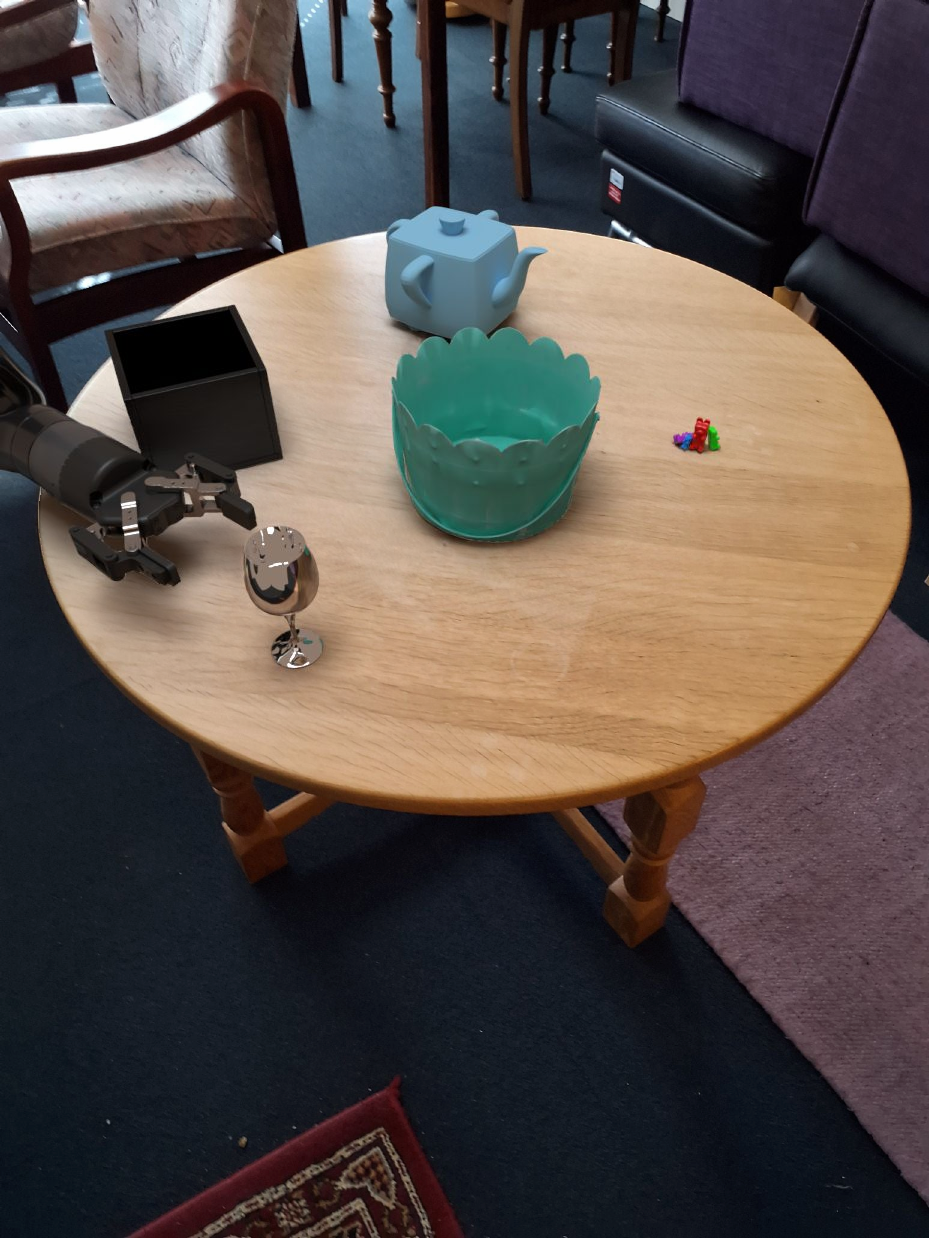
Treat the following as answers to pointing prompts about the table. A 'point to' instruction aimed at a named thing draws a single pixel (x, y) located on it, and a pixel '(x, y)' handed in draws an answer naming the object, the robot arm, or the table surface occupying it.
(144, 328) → the waste bin
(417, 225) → the teapot
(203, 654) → the table surface
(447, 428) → the basket
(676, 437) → the gummy bear
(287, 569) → the wineglass
